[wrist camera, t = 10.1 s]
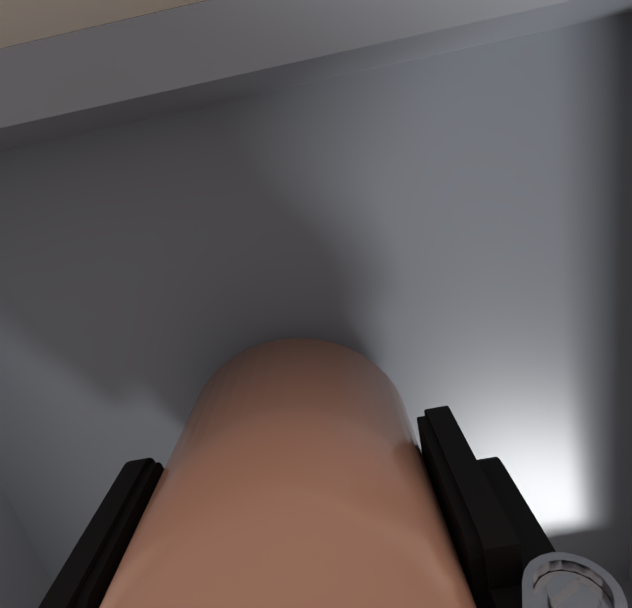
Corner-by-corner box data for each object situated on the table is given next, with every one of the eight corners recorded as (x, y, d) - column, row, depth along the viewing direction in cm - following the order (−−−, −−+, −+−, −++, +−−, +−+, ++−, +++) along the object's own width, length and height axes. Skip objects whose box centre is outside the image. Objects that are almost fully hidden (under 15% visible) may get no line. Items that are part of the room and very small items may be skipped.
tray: (644, 577, 17) (737, 698, 13) (85, 660, 18) (26, 792, 15) (668, -47, 11) (857, -152, 7) (-182, 145, 12) (-406, 144, 8)
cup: (422, 507, 13) (617, 1149, 5) (223, 540, 14) (70, 1193, 5) (392, 318, 11) (624, 817, 3) (162, 361, 12) (-238, 921, 3)
